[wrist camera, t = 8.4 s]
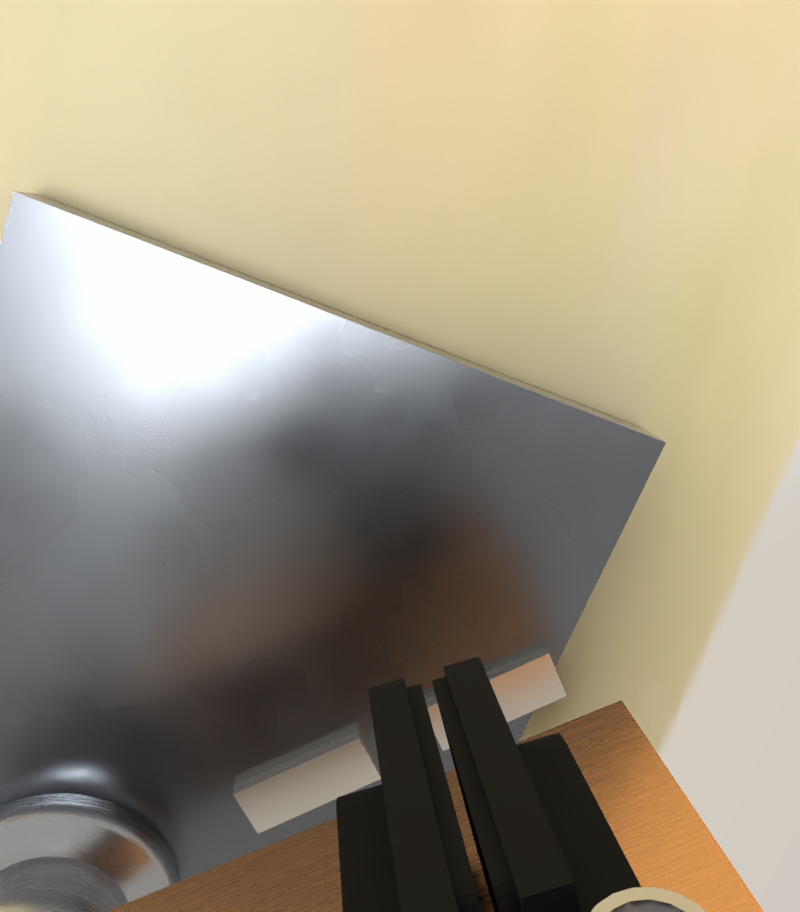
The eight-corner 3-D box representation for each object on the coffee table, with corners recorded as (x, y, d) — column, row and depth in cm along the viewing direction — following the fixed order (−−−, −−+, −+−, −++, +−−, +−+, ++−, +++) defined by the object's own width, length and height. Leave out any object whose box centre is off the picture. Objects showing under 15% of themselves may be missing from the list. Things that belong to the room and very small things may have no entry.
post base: (340, 1078, 21) (350, 1291, 17) (-176, 999, 18) (-320, 1232, 14) (656, 433, 17) (777, 504, 13) (37, 194, 14) (-81, 180, 10)
